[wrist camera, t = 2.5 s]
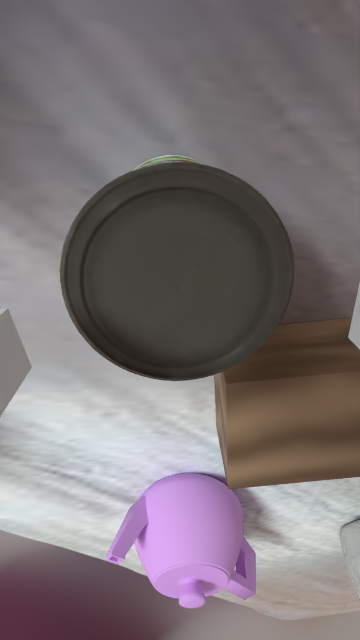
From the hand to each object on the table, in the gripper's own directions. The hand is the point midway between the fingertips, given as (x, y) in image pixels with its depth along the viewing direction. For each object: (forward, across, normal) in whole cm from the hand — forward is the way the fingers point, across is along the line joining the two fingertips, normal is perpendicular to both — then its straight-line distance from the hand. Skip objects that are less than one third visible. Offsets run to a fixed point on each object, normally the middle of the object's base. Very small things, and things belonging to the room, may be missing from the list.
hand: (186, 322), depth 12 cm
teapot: (+17, -2, -40) cm, 43 cm away
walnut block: (+16, +10, -18) cm, 26 cm away
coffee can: (+16, 0, 0) cm, 17 cm away
